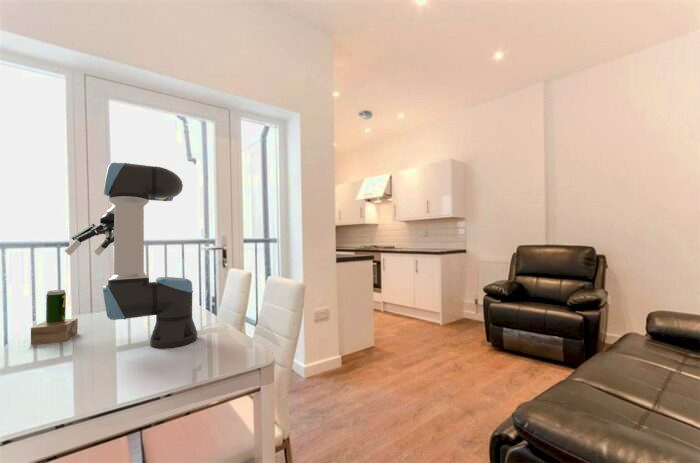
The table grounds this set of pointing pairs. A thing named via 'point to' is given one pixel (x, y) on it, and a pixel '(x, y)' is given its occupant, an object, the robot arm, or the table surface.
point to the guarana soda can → (55, 307)
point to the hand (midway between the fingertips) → (81, 253)
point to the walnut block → (54, 332)
